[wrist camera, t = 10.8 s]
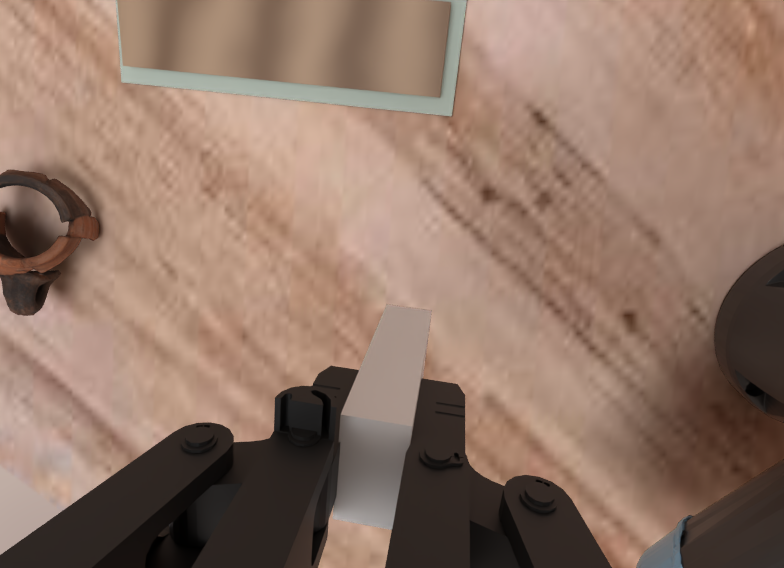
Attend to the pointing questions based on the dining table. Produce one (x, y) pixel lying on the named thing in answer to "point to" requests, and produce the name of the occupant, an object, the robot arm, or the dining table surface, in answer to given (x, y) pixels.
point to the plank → (293, 41)
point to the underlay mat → (314, 91)
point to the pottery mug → (14, 269)
